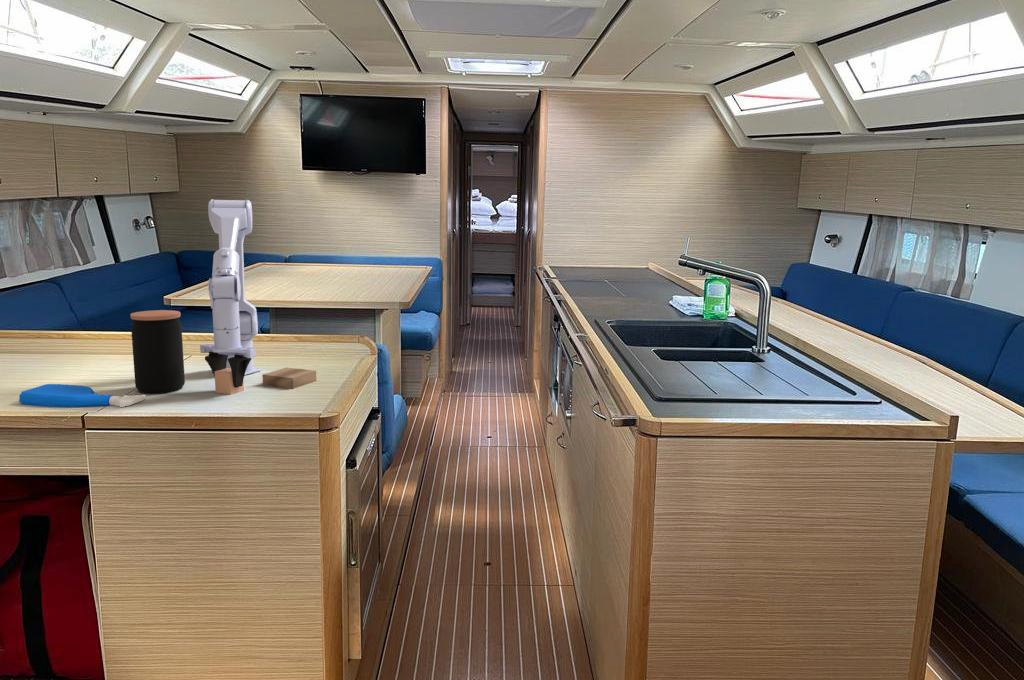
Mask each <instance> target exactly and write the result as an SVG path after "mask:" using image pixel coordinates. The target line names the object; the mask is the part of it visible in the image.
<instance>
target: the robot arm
mask: <svg viewBox="0 0 1024 680" xmlns="http://www.w3.org/2000/svg"><path fill="white" fill-rule="evenodd" d="M207 207H208V208H207V211H208V220H209V223H210V225H211V227H212V230H213V232H214V233H215V234H217V235H218V250H216V251H215V252H214V254H213V258H212V259H213V261H212V273H211V277H210V278H209V279H208V284H207V285H208V286H207V287H208V296H209V300H210V301H209V302H210V309H212V325H213V327H212V328H213V341H214V342H213V343H203V344H199V346H200V348H199V349H200V351H199V352H200V354H208V355H206V356H204V360H205V361H206V363H207V364H208V366H209V367H210V369H211V373H212V375H213V377H214V378H215V371H218V370H222V369H226V368H231V371H232V378H233V385H234V387H236V388H237V387H240V386H242V384H243V380H244V379H245V376H247V375H249V374H254V373H257V372H261V371H262V368H259V367H255V366H254V358H256V357H257V350H256V349H257V348H254V347H253V346H254V344H253V338H254V337H257V335H258V332H259V331H258V330H259V327H258V325H259V322H258V313H257V311H258V310H257V308H256V306H255V305H254V304H252V303H250V302H249V301H248V300H247V299H246V295H245V294H246V290H245V263H244V241H245V236H247V235H249V234H252V232H253V231H252V230H253V207H252V201H250V200H249V199H245V200H243V199H240V200H239V199H238V200H237V199H233V200H232V199H210V201H208V206H207Z"/></svg>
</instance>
